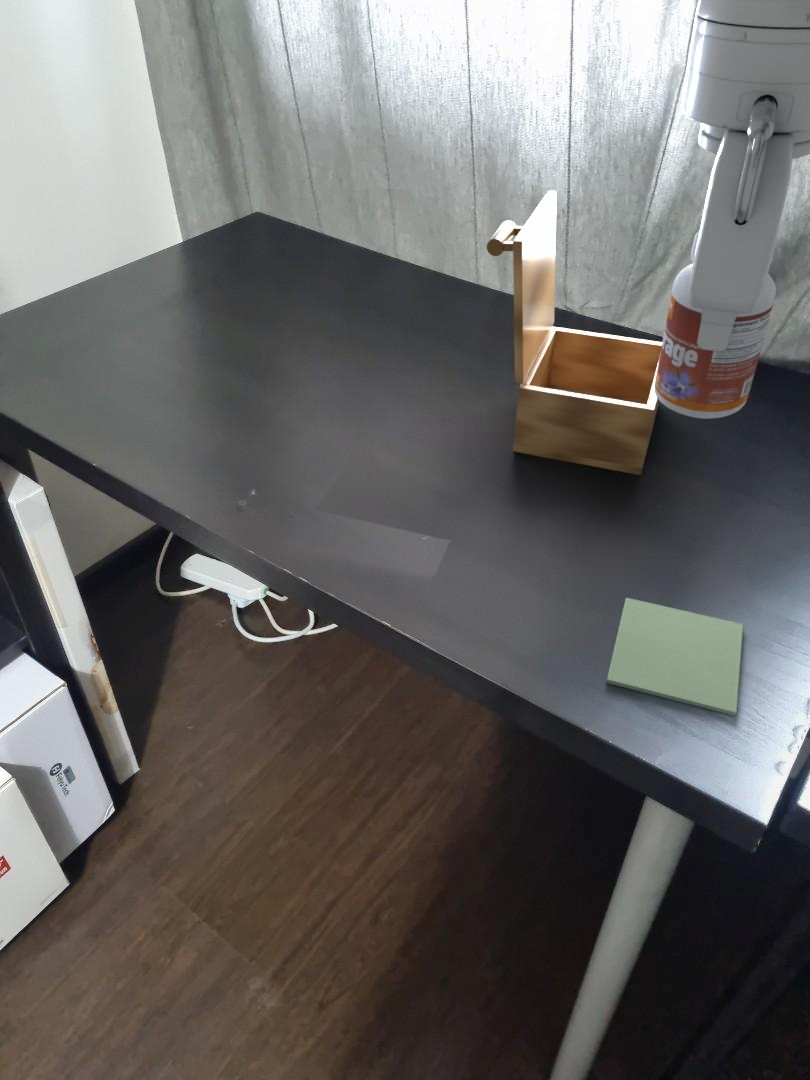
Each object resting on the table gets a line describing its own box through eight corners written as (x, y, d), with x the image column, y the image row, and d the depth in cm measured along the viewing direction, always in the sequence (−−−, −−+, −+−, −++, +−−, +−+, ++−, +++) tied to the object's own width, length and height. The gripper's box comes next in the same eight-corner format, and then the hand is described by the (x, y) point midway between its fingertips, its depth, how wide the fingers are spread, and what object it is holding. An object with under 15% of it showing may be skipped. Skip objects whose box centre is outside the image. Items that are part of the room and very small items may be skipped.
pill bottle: (639, 381, 59) (665, 224, 52) (721, 371, 60) (757, 215, 52) (674, 426, 54) (708, 261, 47) (762, 416, 55) (809, 251, 48)
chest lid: (556, 190, 79) (511, 190, 81) (522, 241, 69) (471, 240, 71) (554, 322, 87) (513, 319, 89) (523, 383, 78) (478, 380, 79)
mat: (742, 627, 64) (743, 624, 64) (735, 716, 58) (736, 712, 58) (625, 600, 67) (625, 597, 66) (606, 682, 60) (606, 679, 60)
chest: (658, 405, 89) (671, 343, 84) (640, 475, 80) (654, 410, 75) (543, 386, 93) (550, 325, 88) (513, 451, 83) (518, 387, 78)
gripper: (838, 132, 36) (761, 407, 45) (832, 44, 50) (775, 265, 59) (688, 124, 38) (643, 390, 47) (724, 41, 52) (684, 256, 61)
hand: (717, 319), depth 53 cm, fingers closed on pill bottle, 6 cm apart
